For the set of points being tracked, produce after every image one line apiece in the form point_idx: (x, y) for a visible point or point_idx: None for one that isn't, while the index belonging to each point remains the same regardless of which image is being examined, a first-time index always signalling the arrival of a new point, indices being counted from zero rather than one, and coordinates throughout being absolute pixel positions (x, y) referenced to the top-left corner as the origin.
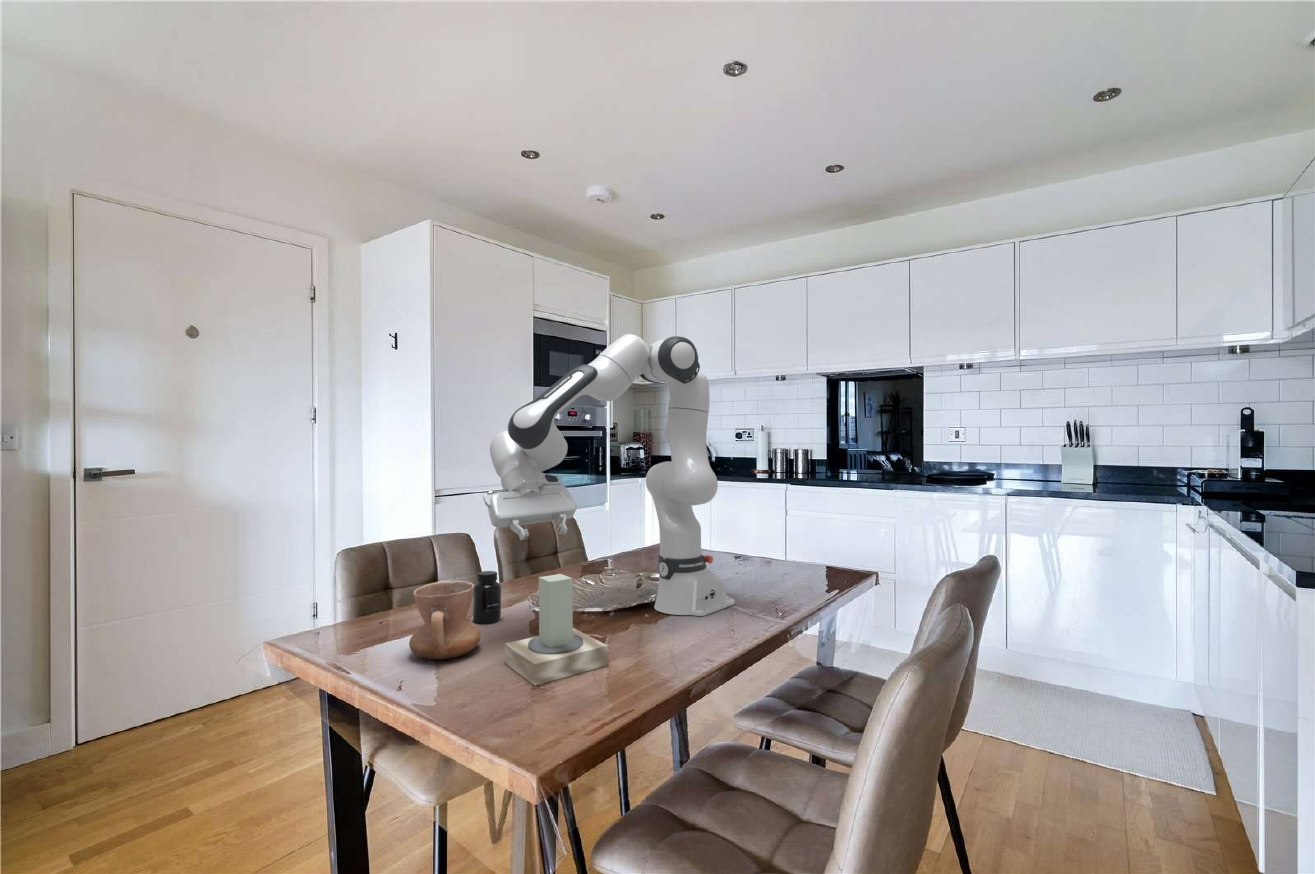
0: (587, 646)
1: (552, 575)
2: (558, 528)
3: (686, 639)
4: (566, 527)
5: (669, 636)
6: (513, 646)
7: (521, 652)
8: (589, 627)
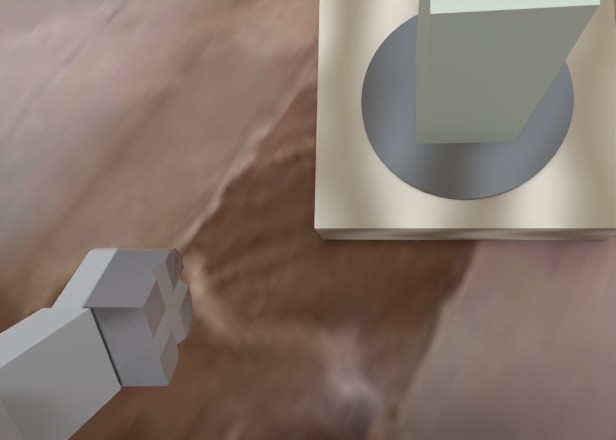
0: (379, 23)
1: (497, 2)
2: (165, 338)
3: (11, 71)
4: (87, 259)
5: (28, 124)
6: (612, 175)
7: (608, 100)
8: (166, 388)
